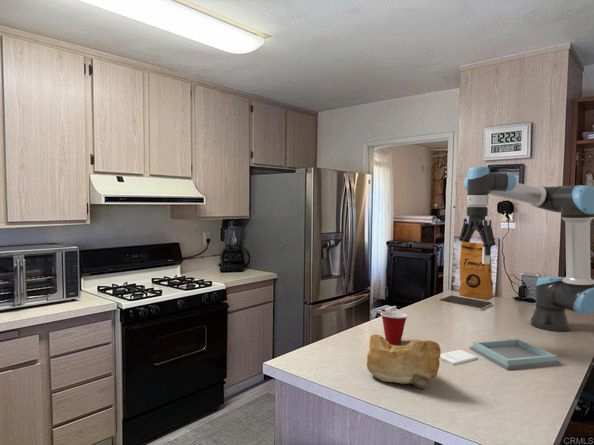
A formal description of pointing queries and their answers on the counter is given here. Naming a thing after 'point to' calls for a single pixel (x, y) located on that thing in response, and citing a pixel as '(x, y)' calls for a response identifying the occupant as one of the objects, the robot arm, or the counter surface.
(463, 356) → the external hard drive
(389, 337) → the plastic cup
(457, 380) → the counter surface
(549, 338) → the counter surface
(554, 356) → the base
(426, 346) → the rough brown rock
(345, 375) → the counter surface
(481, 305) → the hardcover book
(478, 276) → the coffee package
